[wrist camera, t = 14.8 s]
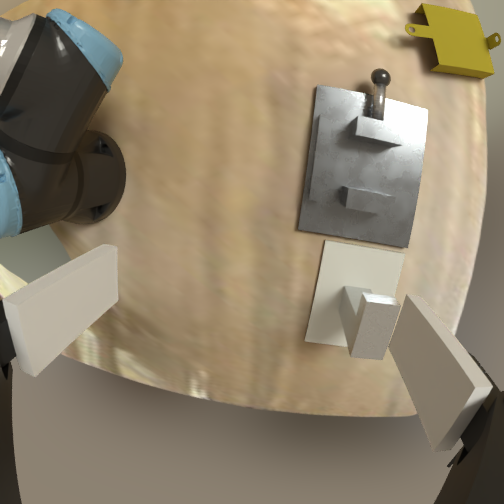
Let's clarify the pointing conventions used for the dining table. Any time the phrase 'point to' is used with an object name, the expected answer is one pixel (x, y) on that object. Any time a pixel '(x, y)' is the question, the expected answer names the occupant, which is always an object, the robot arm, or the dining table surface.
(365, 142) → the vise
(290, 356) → the dining table surface
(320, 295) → the mat
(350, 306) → the gray rectangular block
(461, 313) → the dining table surface
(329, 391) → the dining table surface
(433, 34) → the bracket
